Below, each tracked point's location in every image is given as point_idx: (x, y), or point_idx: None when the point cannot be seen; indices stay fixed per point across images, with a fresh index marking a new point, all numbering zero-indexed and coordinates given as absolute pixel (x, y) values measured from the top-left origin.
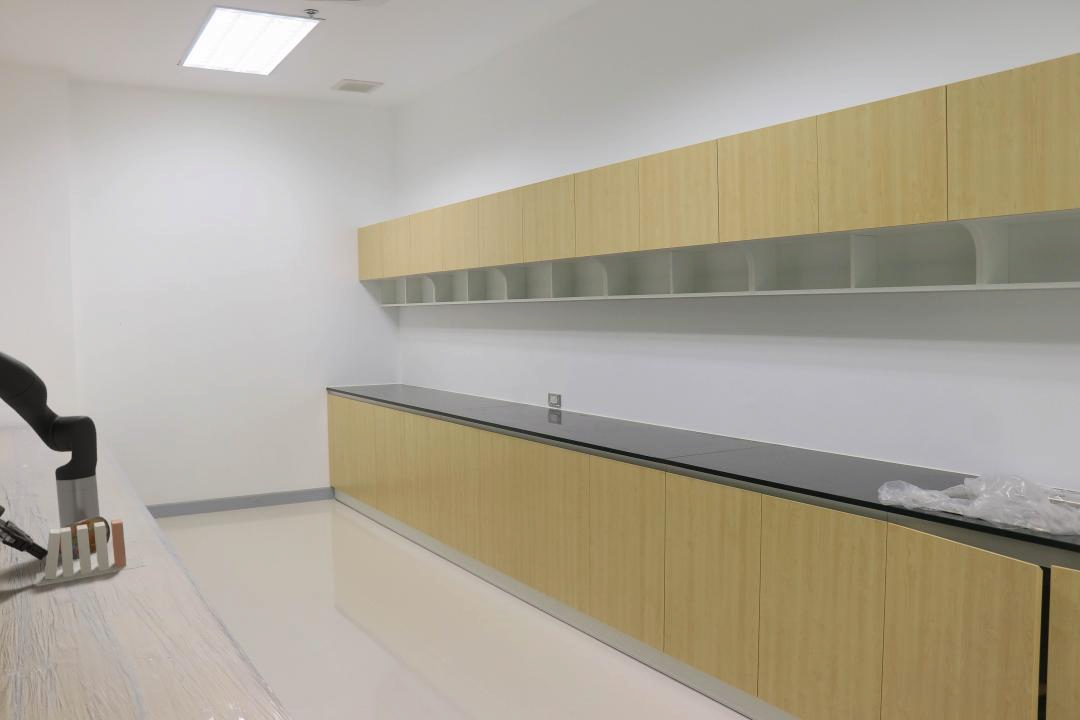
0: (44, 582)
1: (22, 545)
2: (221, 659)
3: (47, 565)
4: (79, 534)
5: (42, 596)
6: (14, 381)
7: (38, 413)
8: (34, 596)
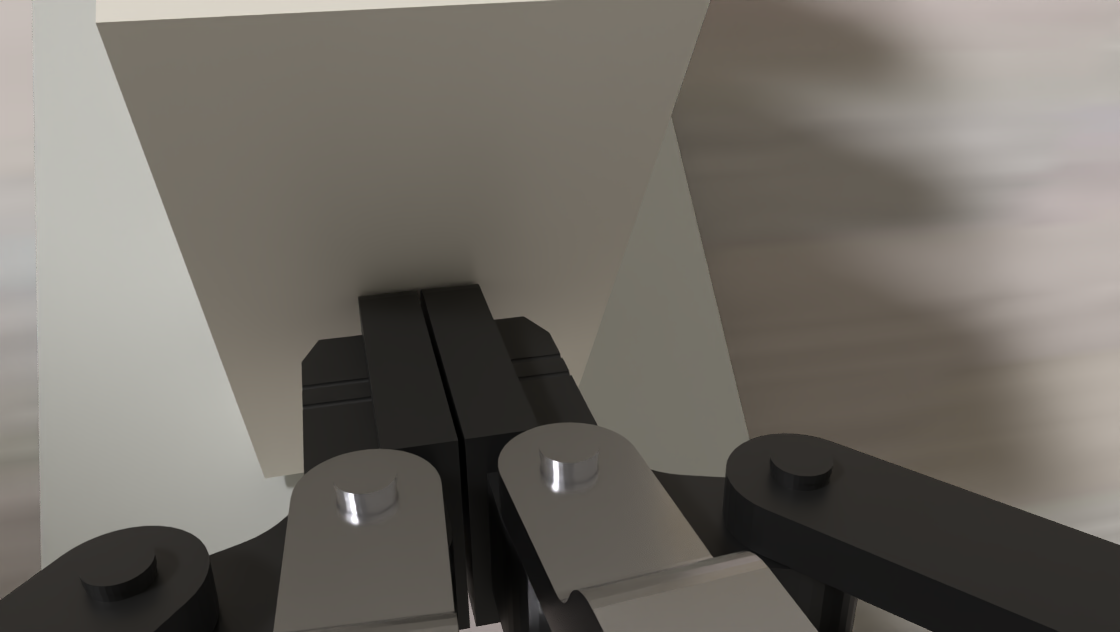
0: (631, 439)
1: (851, 617)
2: None
3: (586, 348)
4: None
5: (1101, 402)
6: None
7: None
8: (1069, 479)
